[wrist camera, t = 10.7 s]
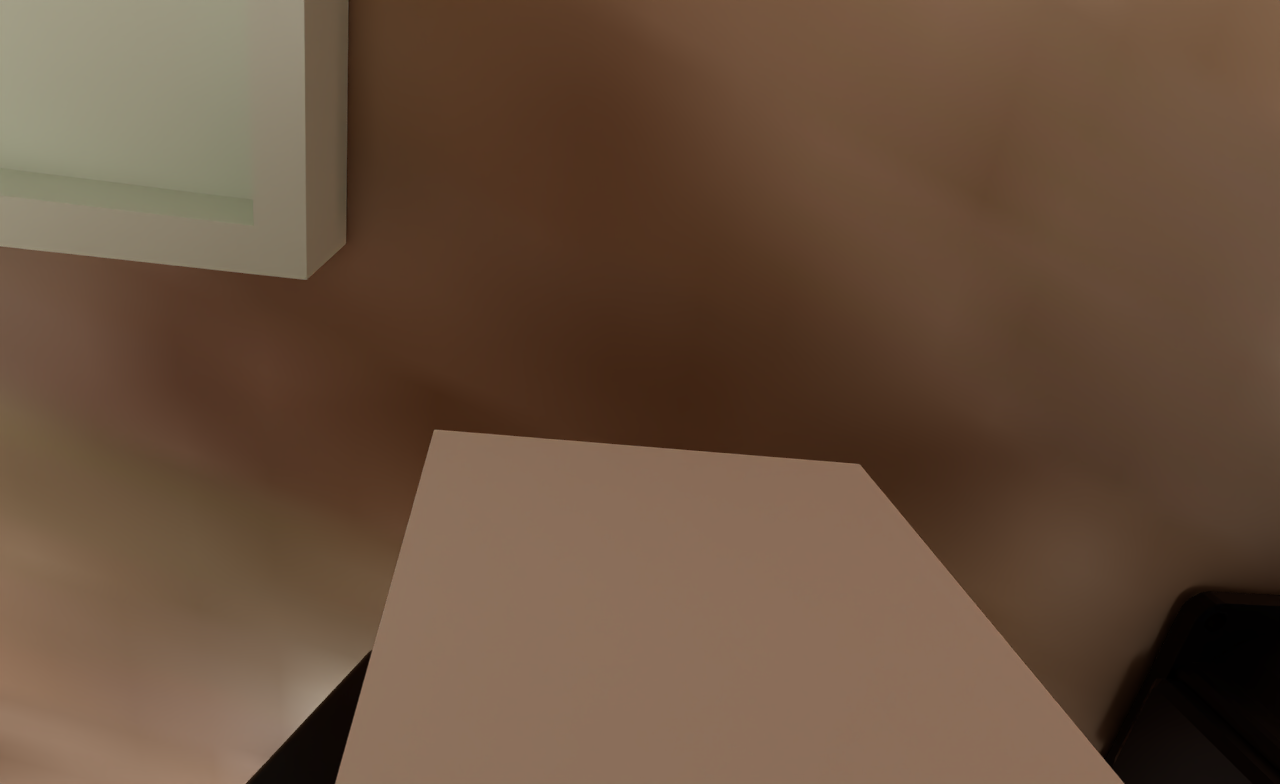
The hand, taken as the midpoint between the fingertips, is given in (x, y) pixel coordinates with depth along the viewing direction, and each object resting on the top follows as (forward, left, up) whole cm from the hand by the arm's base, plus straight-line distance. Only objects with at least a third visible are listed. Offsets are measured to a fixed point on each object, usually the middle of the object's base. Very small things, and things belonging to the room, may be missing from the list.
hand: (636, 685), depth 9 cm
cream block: (0, 0, -1) cm, 1 cm away
